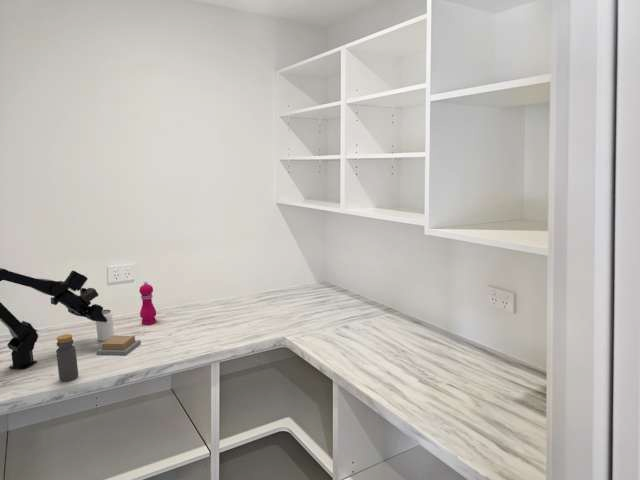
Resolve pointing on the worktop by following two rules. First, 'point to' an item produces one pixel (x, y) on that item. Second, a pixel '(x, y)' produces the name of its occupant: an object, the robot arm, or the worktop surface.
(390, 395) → the worktop surface
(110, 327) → the can
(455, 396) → the worktop surface
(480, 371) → the worktop surface
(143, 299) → the pepper mill
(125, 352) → the plinth
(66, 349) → the bottle
